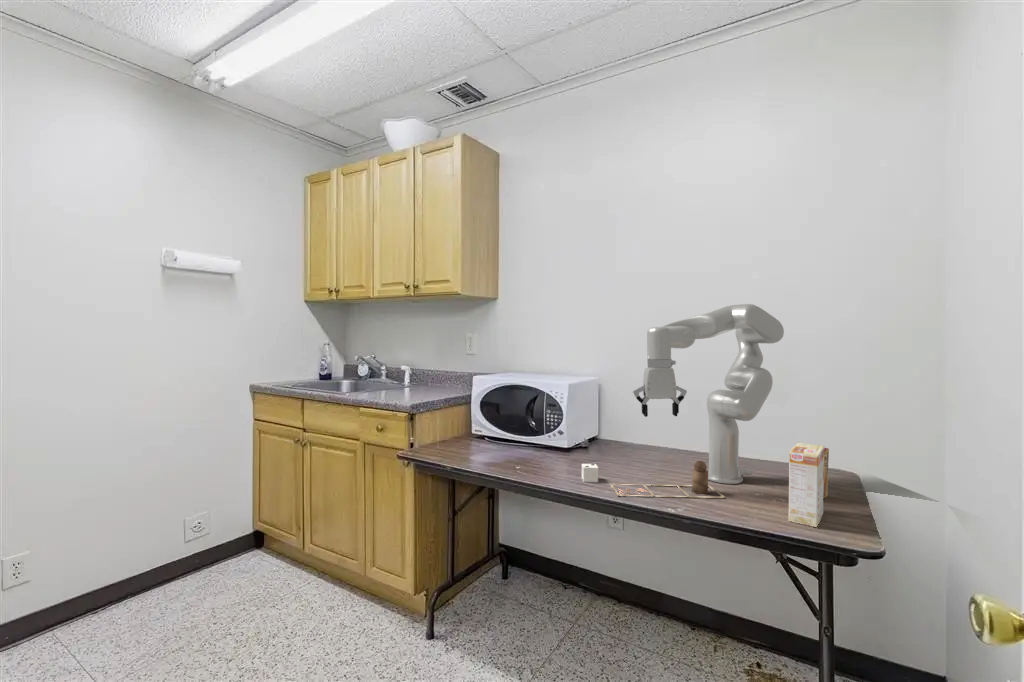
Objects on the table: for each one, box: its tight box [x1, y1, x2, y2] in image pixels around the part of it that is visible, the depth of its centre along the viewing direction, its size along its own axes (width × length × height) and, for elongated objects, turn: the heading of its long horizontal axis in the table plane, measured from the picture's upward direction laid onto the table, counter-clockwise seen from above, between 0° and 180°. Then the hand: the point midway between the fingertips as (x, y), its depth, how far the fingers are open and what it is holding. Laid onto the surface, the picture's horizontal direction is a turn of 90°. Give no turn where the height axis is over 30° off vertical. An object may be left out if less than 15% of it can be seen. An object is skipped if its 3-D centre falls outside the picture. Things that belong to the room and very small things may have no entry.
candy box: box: [823, 447, 830, 500], centre depth 148 cm, size 9×4×15 cm, turn 137°
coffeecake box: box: [787, 442, 825, 528], centre depth 131 cm, size 15×7×20 cm, turn 141°
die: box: [581, 463, 599, 483], centre depth 163 cm, size 5×5×5 cm
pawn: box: [691, 460, 709, 495], centre depth 152 cm, size 5×5×10 cm
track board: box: [609, 483, 727, 499], centre depth 152 cm, size 34×12×1 cm, turn 89°
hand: (660, 415), depth 156 cm, fingers open, 9 cm apart
